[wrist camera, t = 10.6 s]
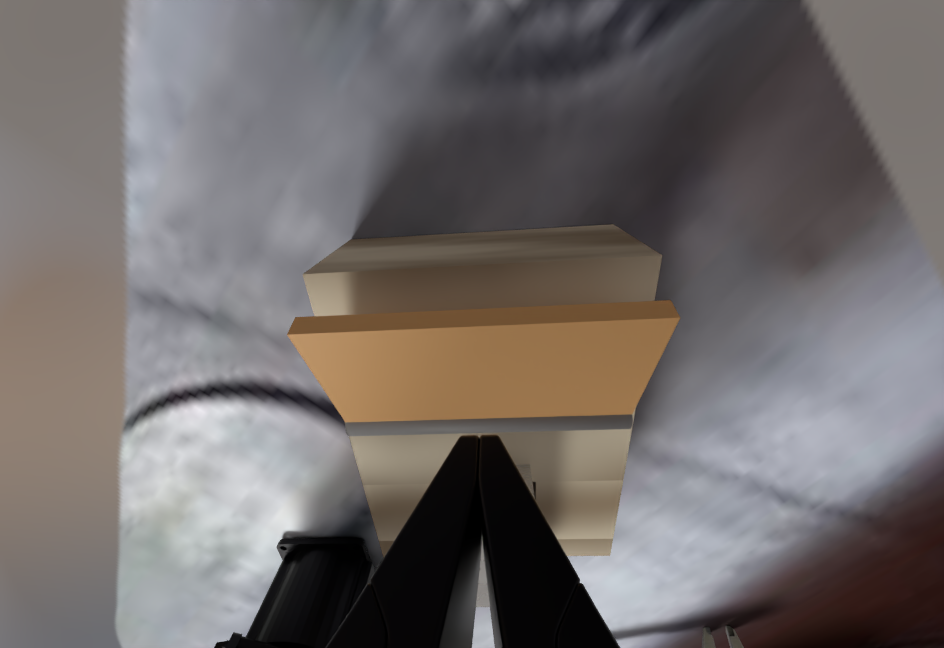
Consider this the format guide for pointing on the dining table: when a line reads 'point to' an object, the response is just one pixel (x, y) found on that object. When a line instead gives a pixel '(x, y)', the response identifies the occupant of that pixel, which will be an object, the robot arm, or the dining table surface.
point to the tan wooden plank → (487, 366)
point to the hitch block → (481, 287)
